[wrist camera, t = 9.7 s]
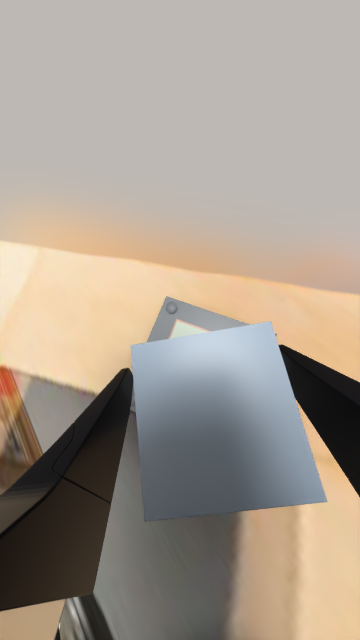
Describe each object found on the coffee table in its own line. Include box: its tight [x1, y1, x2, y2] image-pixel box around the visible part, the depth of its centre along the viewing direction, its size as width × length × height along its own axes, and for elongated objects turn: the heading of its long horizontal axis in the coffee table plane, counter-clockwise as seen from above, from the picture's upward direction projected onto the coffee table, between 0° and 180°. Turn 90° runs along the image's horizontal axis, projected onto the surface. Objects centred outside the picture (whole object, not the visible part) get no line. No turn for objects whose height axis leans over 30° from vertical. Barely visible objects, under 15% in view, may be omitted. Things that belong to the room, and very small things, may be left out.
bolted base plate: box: [130, 296, 277, 412], centre depth 19 cm, size 16×16×4 cm
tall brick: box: [131, 321, 327, 522], centre depth 11 cm, size 5×5×12 cm
